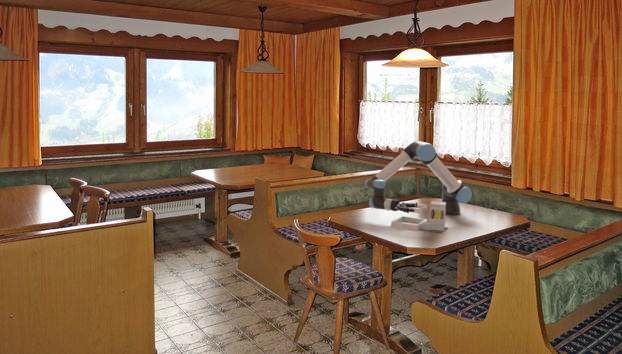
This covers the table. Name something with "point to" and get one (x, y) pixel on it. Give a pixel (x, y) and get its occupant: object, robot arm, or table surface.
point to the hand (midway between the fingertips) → (423, 209)
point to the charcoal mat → (426, 228)
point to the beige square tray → (409, 219)
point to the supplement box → (437, 216)
